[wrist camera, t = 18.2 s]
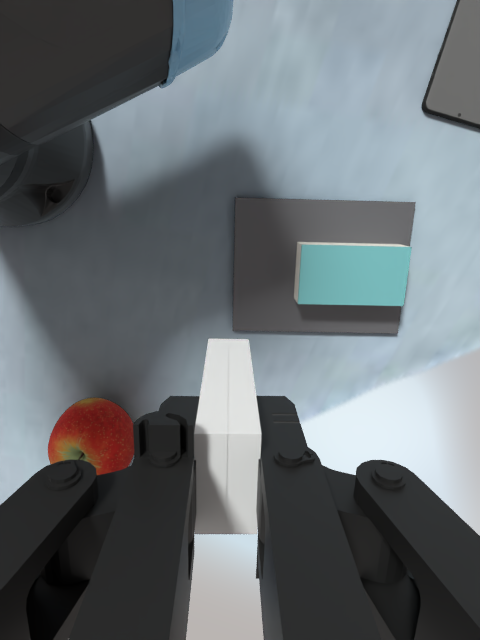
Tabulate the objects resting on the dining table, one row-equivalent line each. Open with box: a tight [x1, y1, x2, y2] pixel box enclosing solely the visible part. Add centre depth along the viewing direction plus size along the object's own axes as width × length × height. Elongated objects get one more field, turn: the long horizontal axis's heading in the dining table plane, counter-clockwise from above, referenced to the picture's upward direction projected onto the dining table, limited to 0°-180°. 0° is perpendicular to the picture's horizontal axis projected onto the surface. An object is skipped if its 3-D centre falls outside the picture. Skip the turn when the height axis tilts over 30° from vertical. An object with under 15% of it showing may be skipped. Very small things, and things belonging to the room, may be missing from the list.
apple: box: [48, 398, 134, 475], centre depth 41 cm, size 8×8×10 cm
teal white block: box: [294, 242, 412, 306], centre depth 40 cm, size 3×6×10 cm
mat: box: [233, 198, 416, 333], centre depth 41 cm, size 17×13×1 cm
